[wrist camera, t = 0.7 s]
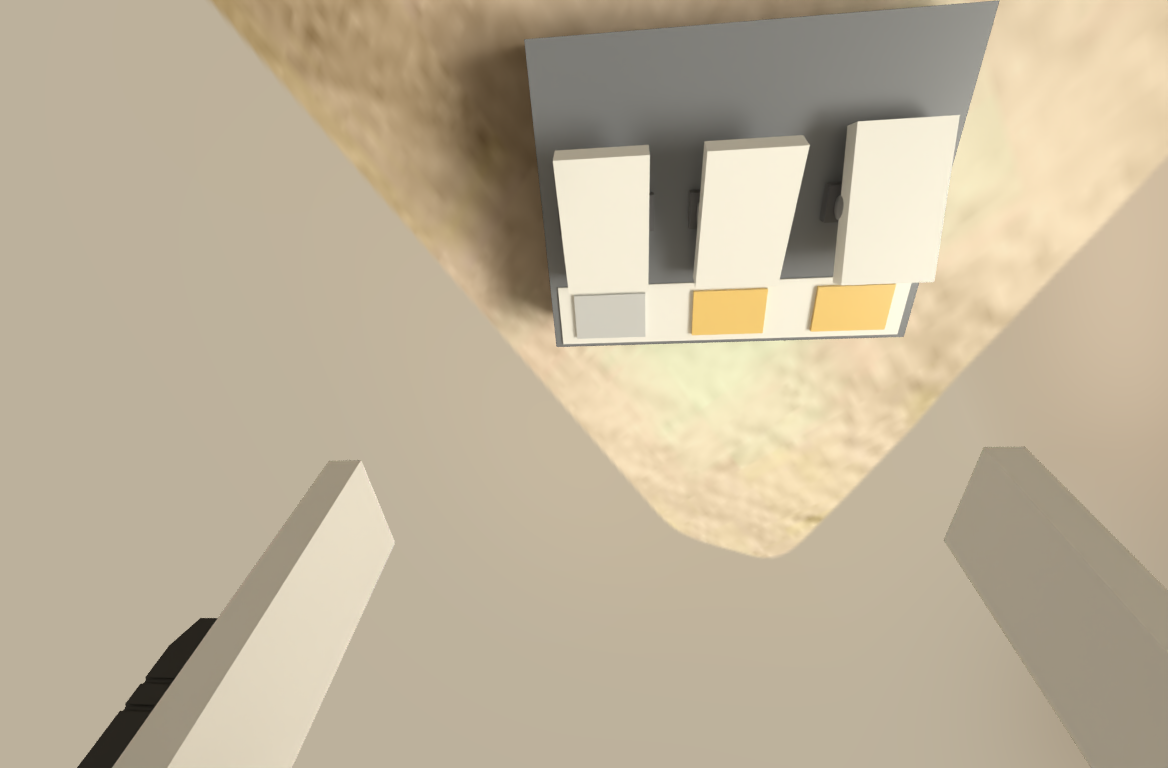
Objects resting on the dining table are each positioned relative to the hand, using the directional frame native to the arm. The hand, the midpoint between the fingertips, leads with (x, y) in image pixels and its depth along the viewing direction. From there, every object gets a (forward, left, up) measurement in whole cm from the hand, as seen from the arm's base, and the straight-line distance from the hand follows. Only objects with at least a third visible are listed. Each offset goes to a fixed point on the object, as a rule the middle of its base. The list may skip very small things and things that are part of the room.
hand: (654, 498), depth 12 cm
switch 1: (-2, -1, -15) cm, 15 cm away
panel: (-2, +5, -20) cm, 21 cm away
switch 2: (-2, +5, -15) cm, 16 cm away
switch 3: (-2, +11, -15) cm, 19 cm away
